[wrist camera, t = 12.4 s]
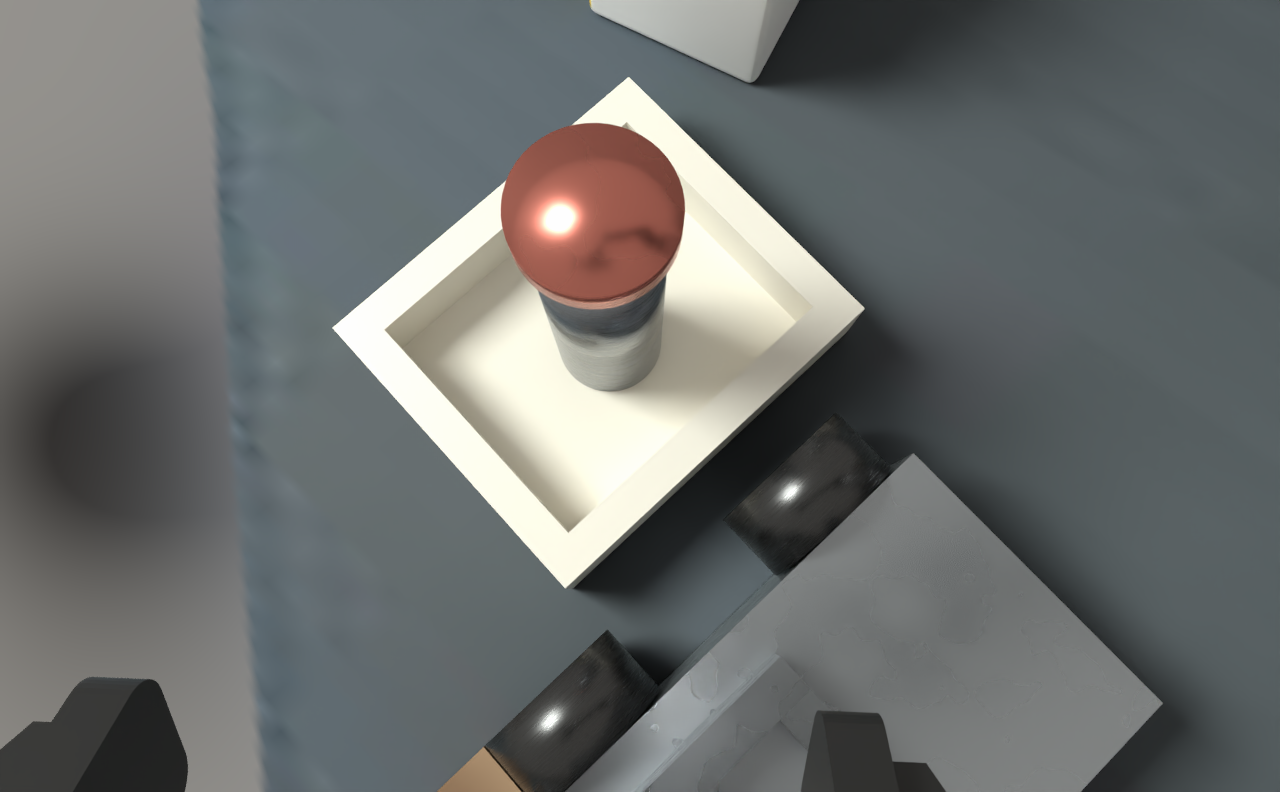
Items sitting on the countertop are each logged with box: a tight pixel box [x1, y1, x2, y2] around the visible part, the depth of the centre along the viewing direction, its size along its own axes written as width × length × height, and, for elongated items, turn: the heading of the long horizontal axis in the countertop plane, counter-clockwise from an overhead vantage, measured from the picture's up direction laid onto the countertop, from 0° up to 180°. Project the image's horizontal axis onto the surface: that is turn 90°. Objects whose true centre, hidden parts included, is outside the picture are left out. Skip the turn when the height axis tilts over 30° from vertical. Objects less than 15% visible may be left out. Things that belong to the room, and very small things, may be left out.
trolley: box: [485, 413, 1163, 792], centre depth 29 cm, size 16×12×6 cm
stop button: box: [501, 123, 685, 392], centre depth 27 cm, size 4×4×12 cm
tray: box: [333, 77, 865, 589], centre depth 32 cm, size 13×11×3 cm
